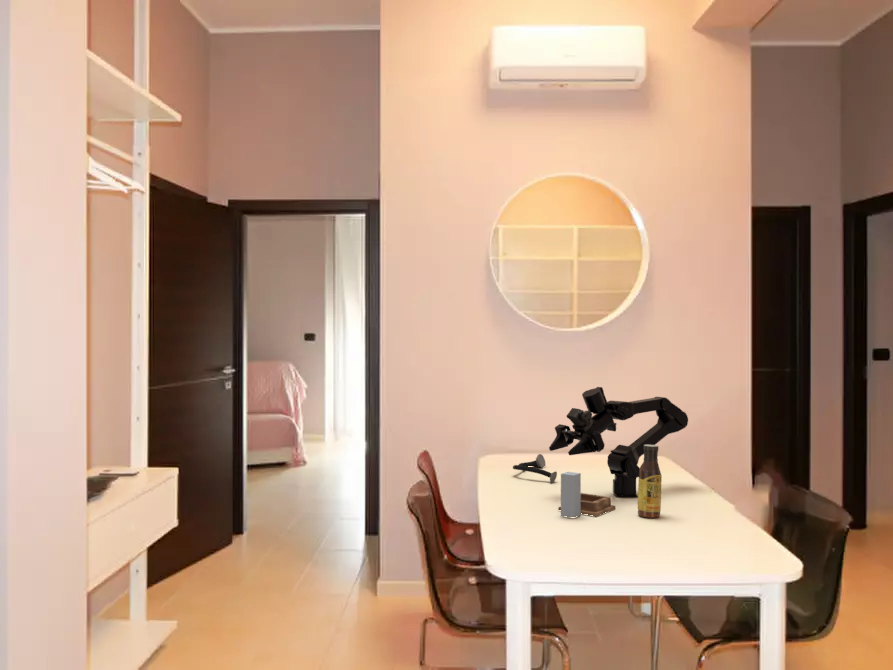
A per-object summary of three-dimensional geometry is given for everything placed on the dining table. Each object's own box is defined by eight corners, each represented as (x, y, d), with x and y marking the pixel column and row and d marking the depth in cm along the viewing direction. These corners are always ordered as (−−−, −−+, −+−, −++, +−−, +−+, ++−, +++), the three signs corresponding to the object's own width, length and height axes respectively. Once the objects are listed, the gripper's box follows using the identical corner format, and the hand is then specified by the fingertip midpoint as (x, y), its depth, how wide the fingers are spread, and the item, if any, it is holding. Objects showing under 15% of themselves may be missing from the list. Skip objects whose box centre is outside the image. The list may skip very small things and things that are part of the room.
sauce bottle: (648, 519, 213) (648, 447, 213) (632, 515, 219) (633, 444, 219) (666, 517, 216) (666, 446, 216) (650, 512, 222) (651, 443, 222)
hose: (558, 484, 262) (558, 468, 262) (516, 484, 262) (516, 468, 262) (544, 467, 296) (544, 453, 296) (507, 467, 296) (507, 452, 296)
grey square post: (567, 514, 220) (568, 471, 220) (580, 516, 218) (580, 473, 217) (560, 516, 217) (560, 473, 217) (573, 518, 214) (573, 475, 214)
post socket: (578, 503, 233) (578, 491, 233) (615, 509, 226) (615, 497, 226) (558, 510, 224) (558, 498, 224) (596, 517, 216) (596, 504, 216)
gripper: (567, 400, 245) (531, 424, 238) (607, 405, 229) (569, 431, 222) (579, 430, 247) (543, 455, 241) (619, 438, 231) (582, 465, 224)
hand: (559, 451), depth 232 cm, fingers open, 9 cm apart
